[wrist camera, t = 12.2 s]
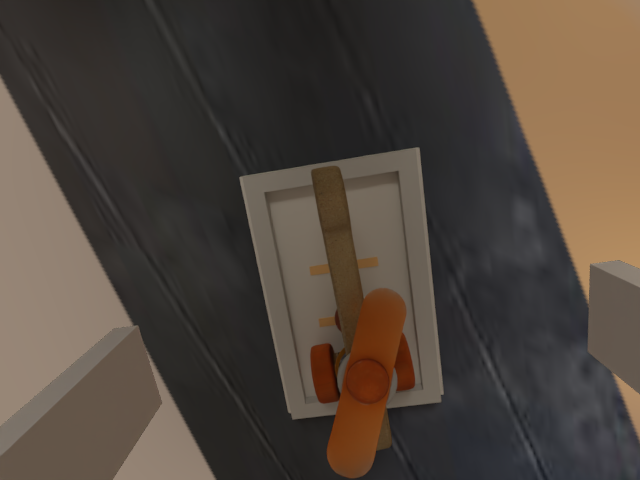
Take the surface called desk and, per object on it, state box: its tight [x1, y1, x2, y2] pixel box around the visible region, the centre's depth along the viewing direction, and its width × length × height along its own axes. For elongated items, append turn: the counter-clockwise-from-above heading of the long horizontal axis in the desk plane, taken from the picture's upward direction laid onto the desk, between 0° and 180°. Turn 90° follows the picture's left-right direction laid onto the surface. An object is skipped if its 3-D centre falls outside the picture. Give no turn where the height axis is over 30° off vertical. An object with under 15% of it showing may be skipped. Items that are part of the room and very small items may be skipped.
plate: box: [239, 148, 444, 420], centre depth 33 cm, size 23×15×3 cm, turn 9°
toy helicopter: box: [310, 166, 415, 478], centre depth 26 cm, size 8×21×14 cm, turn 11°
